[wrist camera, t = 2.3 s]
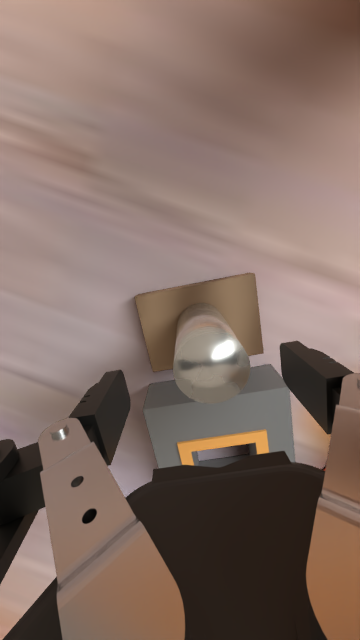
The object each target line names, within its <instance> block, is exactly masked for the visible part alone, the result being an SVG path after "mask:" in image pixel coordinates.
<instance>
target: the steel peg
mask: <svg viewBox="0 0 360 640" xmlns="http://www.w3.org/2000/svg"><path fill="white" fill-rule="evenodd" d="M173 374H174V379H175V381H176V384H177V386H178V387H179V389H180V390H181V391H182V392H183V393H184V394H185V395H186V396H188V397H189V398H191V399H193V400H195V401H198V402H201V403H207V404H214V403H220V402H224V401H227V400H229V399H231V398H233V397H234V396H236V395H237V394H238V393H239V392H240V391H241V390H242V389H243V388H244V386H245V385H246V383H247V381H248V378H249V375H250V361H249V357H248V355H247V353H246V351H245V349H244V348H243V346H242V345H241V343H240V342H239V340H238V339H237V337H236V336H235V334H234V333H233V331H232V330H231V328H230V327H229V325H228V323H227V322H226V320H225V319H224V317H223V316H222V314H221V313H220V312H219V310H218V309H217V308H215V307H214V306H212V305H210V304H206V303H196V304H193V305H191V306H189V307H187V308H186V309H185V310H184V311H183V312H182V313H181V315H180V317H179V319H178V324H177V334H176V345H175V355H174V365H173Z"/></svg>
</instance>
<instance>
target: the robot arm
mask: <svg viewBox="0 0 360 640" xmlns="http://www.w3.org/2000/svg"><path fill="white" fill-rule="evenodd" d="M280 357H281V370H282V377H283V380H284V382H285V384H286V386H287V387H288V388H289V389H290V390H291V392H292V393H293V394H294V395H295V396H296V398H297V399H298V400H299V401H300V402H301V403H302V405H303V406H304V407H305V408H306V409H307V411H308V412H309V413H310V414H311V415H312V417H313V418H314V419H315V420H316V421H317V423H318V424H319V425H320V426H321V427H322V428H323V430H324V431H325V432H326V433H327V434H331V439H330V445H329V451H328V458H327V464H326V470H325V471H324V470H321V469H319V468H316V467H313V466H310V465H306V464H302V463H296V462H290V460H289V458H288V456H287V454H286V452H285V451H278V452H271V453H264V454H257V455H251V456H248V457H246V458H243V459H241V460H238V461H236V462H233V463H231V464H228V465H226V466H223V467H219V468H216V467H205V466H194V465H180V466H173V467H166V468H159V469H154V470H153V478H152V481H151V482H149V483H147V484H145V485H143V486H141V487H139V488H138V489H136V490H135V491H133V492H132V493H131V494H130V495H128V496H127V497H126V498H125V497H124V495H123V493H122V491H121V490H120V488H119V486H118V484H117V483H116V481H115V479H114V477H113V475H112V474H111V472H110V470H109V468H108V465H111V463H112V460H113V457H114V454H115V451H116V448H117V445H118V442H119V439H120V436H121V433H122V431H123V428H124V425H125V422H126V419H127V416H128V413H129V410H130V396H129V393H128V389H127V385H126V381H125V378H124V374H123V372H122V370H116V371H110V372H106V373H105V374H104V376H103V377H102V379H101V380H100V382H99V383H96V384H95V385H94V386H92V387H91V388H90V389H89V390H88V391H87V392H86V394H85V395H84V397H83V398H82V399H81V401H80V403H79V404H78V405H77V406H76V408H75V409H74V411H73V412H72V413H71V415H70V416H69V418H67V419H63V420H60V421H58V422H56V423H54V424H52V425H51V426H49V427H48V428H47V429H46V430H44V431H43V432H42V434H41V435H40V437H39V439H38V442H37V443H34V444H32V445H29V446H26V447H23V448H21V449H18V450H17V448H16V445H15V443H14V441H13V440H10V439H6V440H1V441H0V584H1V582H2V580H3V578H4V576H5V574H6V572H7V571H8V569H9V567H10V565H11V563H12V561H13V559H14V557H15V555H16V553H17V551H18V549H19V547H20V545H21V544H22V542H23V540H24V538H25V536H26V534H27V532H28V530H29V528H30V526H31V524H32V522H33V520H34V518H35V516H36V515H37V513H38V510H39V509H41V508H43V507H46V513H47V519H48V525H49V531H50V537H51V544H52V550H53V556H54V562H55V568H56V574H57V577H56V578H55V579H54V580H53V581H52V583H51V584H50V585H49V586H48V587H47V588H46V590H45V591H44V592H43V593H42V594H41V595H40V597H39V598H38V599H37V600H36V601H35V602H34V604H33V605H32V606H31V607H30V608H29V609H28V611H27V612H26V613H25V614H24V615H23V616H22V618H21V619H20V620H19V621H18V622H17V623H16V625H15V626H14V627H13V628H12V629H11V630H10V632H9V633H8V634H7V635H6V636H5V637H4V639H3V640H360V373H353V372H352V371H350V370H349V369H347V368H346V367H344V366H343V365H341V364H340V363H338V362H336V361H335V360H334V359H332V358H330V357H329V356H327V355H326V354H324V353H323V352H320V351H317V350H314V349H309V348H307V347H306V346H304V345H303V344H302V343H300V342H299V341H293V342H287V343H281V345H280Z"/></svg>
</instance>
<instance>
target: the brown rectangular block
mask: <svg viewBox="0 0 360 640" xmlns="http://www.w3.org/2000/svg"><path fill="white" fill-rule="evenodd" d="M135 302H136V306H137V310H138V314H139V318H140V322H141V326H142V330H143V334H144V338H145V342H146V346H147V350H148V354H149V358H150V362H151V366H152V370H153V372H156V371H162V370H168V369H173V365H174V355H175V345H176V334H177V324H178V319H179V317H180V315H181V313H182V312H183V311H184V310H185V309H186V308H187V307H189V306H191V305H193V304H196V303H206V304H210V305H212V306H214V307H215V308H217V309H218V310H219V312H220V313H221V314H222V316H223V317H224V319H225V320H226V322H227V323H228V325H229V327H230V328H231V330H232V331H233V333H234V334H235V336H236V337H237V339H238V340H239V342H240V343H241V345H242V346H243V348H244V349H245V351H246V353H247V355H248V356H250V355H256V354H262V353H263V344H262V334H261V325H260V316H259V307H258V297H257V288H256V279H255V274H253V273H245V274H240V275H235V276H230V277H225V278H220V279H214V280H209V281H204V282H199V283H194V284H189V285H183V286H178V287H173V288H168V289H163V290H158V291H152V292H147V293H142V294H138V295H136V296H135Z"/></svg>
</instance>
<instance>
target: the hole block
mask: <svg viewBox="0 0 360 640" xmlns="http://www.w3.org/2000/svg"><path fill="white" fill-rule="evenodd" d="M143 413H144V417H145V420H146V424H147V428H148V431H149V435H150V439H151V442H152V446H153V449H154V453H155V457H156V460H157V464H158V468H166V467H173V466H180V465H194V466H205V467H216V468H219V467H223V466H226V465H228V464H231V463H233V462H236V461H238V460H241V459H243V458H246V457H248V456H251V455H257V454H264V453H271V452H278V451H285V452H286V454H287V456H288V458H289V460H290V462H295V453H294V441H293V428H292V416H291V403H290V391H289V388H288V387H287V386H286V384H285V382H284V380H283V378H282V377H281V376H280V375H279V374H278V372H277V371H276V370H275V369H274V367H273V366H272V365H271V364H269V365H263V366H257V367H251V368H250V375H249V378H248V381H247V383H246V385H245V386H244V388H243V389H242V390H241V391H240V392H239V393H238V394H237V395H236V396H234V397H233V398H231V399H229V400H227V401H224V402H220V403H214V404H207V403H201V402H198V401H195V400H193V399H191V398H189V397H188V396H186V395H185V394H184V393H183V392H182V391H181V390H180V389H179V387H178V386H177V384H176V381H175V380H172V381H166V382H160V383H154V384H150V385H149V388H148V392H147V396H146V399H145V403H144V407H143ZM242 444H248V446H249V453H250V454H248V455H241V456H234V457H227V458H220V459H212V460H205V461H199V460H198V455H197V451H200V450H207V449H214V448H221V447H228V446H235V445H242Z"/></svg>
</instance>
